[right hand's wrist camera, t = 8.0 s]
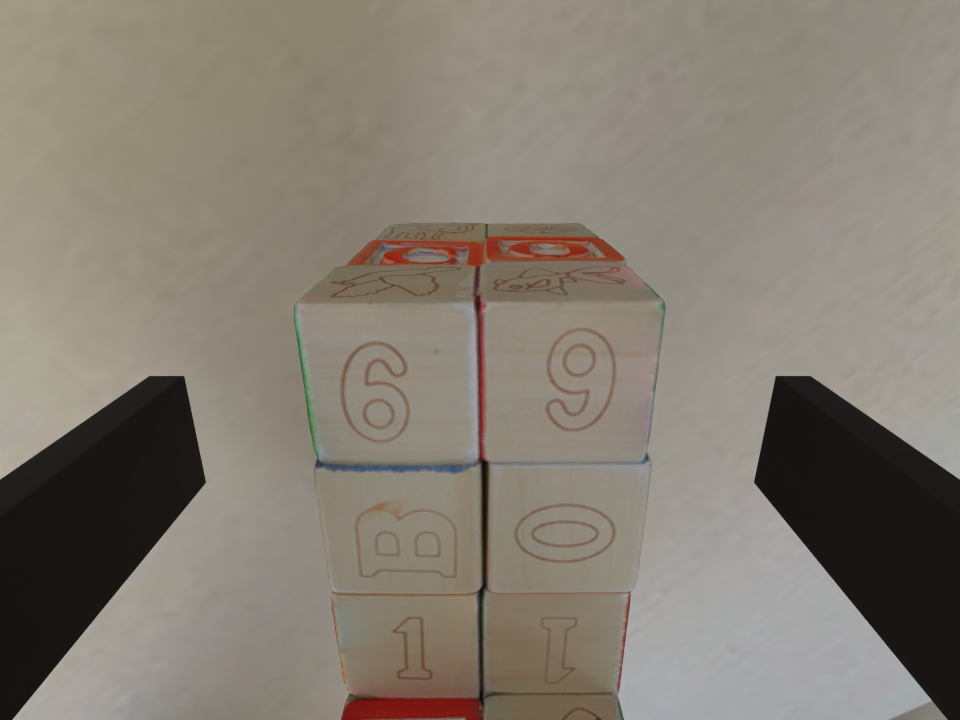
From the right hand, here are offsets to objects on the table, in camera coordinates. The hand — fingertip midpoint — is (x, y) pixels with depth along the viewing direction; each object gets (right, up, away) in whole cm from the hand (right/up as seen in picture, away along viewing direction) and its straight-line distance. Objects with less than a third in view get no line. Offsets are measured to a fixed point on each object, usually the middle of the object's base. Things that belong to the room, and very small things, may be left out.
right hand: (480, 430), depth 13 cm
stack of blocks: (0, -4, +9) cm, 10 cm away
